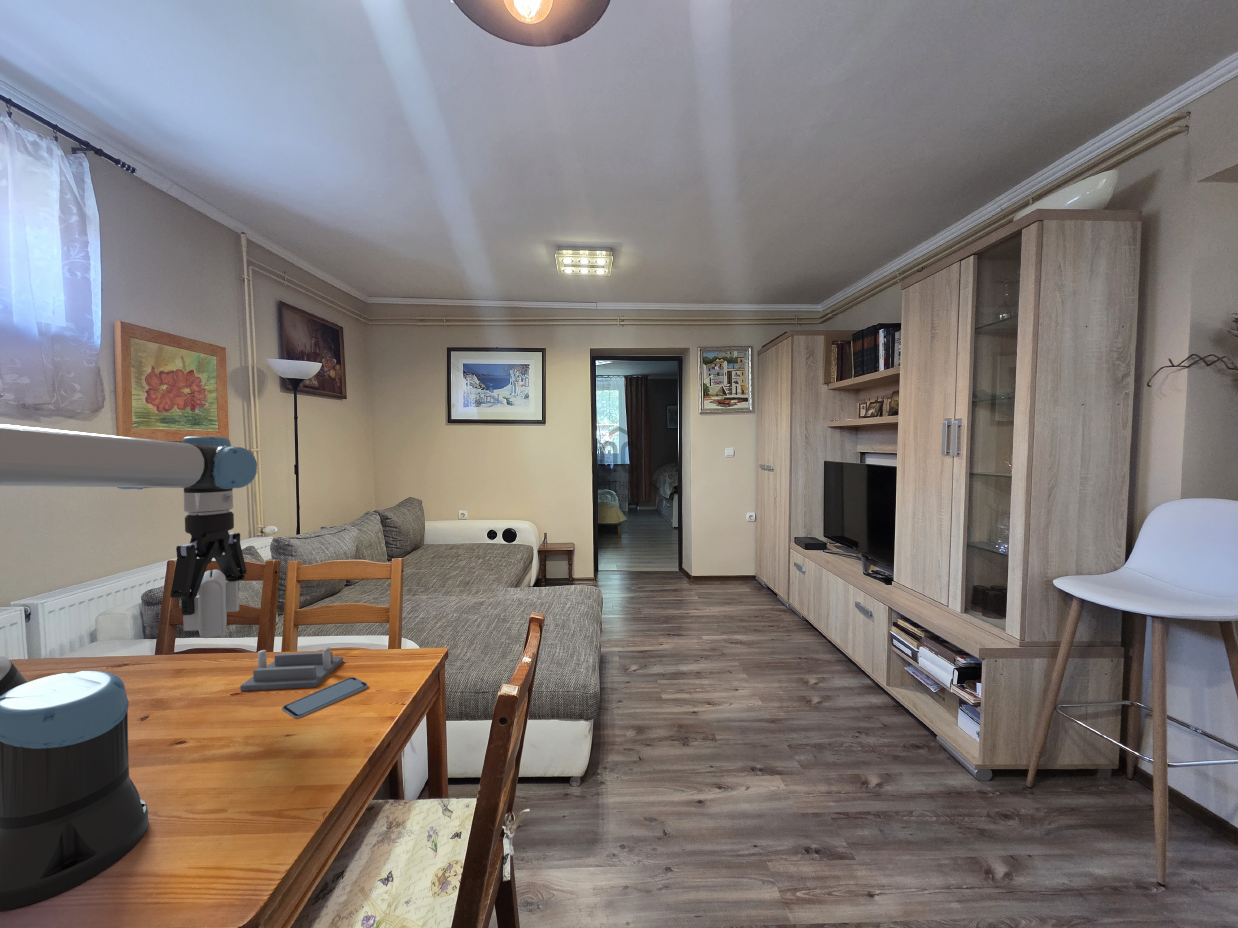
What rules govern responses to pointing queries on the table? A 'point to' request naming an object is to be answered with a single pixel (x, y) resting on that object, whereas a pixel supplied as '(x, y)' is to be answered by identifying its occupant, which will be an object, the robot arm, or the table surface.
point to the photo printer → (213, 604)
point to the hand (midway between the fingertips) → (213, 619)
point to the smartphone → (324, 697)
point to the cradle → (292, 670)
